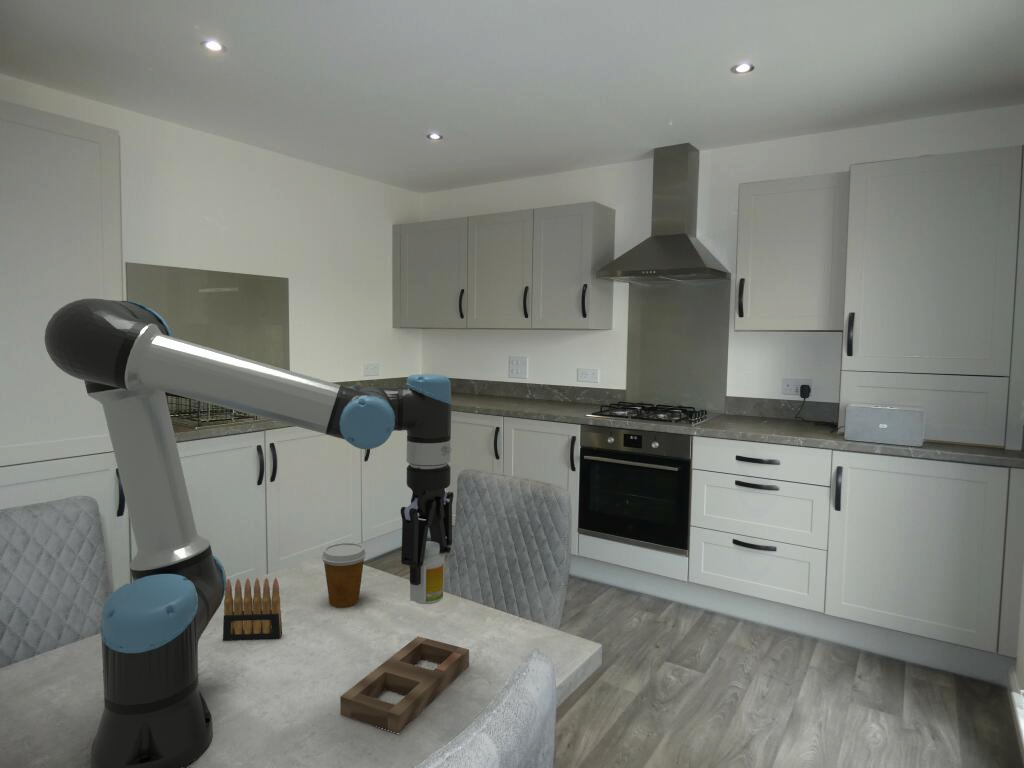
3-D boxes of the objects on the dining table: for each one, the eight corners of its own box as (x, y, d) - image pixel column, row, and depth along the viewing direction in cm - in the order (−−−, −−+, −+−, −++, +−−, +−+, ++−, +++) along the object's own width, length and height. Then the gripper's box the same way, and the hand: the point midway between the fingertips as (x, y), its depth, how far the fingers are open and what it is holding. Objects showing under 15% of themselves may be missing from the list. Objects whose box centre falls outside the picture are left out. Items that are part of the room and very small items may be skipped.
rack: (398, 734, 94) (398, 714, 94) (340, 714, 99) (340, 695, 99) (468, 665, 114) (469, 648, 114) (417, 651, 119) (417, 635, 118)
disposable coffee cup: (375, 599, 141) (375, 547, 140) (342, 615, 133) (342, 560, 132) (345, 589, 146) (345, 539, 145) (312, 604, 138) (312, 550, 137)
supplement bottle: (447, 594, 112) (448, 541, 111) (436, 607, 107) (436, 551, 106) (419, 590, 114) (420, 538, 113) (407, 602, 108) (407, 547, 108)
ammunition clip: (282, 634, 124) (281, 575, 123) (280, 639, 122) (279, 579, 121) (225, 636, 123) (224, 577, 122) (222, 641, 121) (221, 580, 120)
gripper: (417, 477, 98) (416, 620, 100) (473, 457, 115) (471, 580, 117) (378, 472, 102) (378, 610, 104) (438, 453, 118) (436, 572, 120)
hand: (427, 594), depth 110 cm, fingers closed on supplement bottle, 5 cm apart
